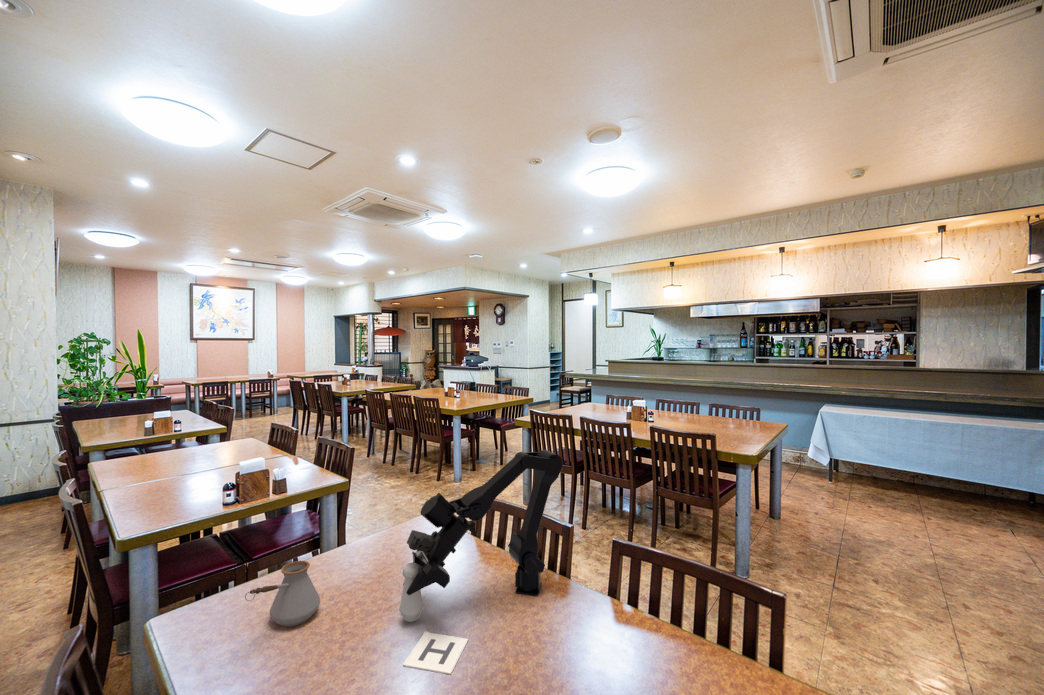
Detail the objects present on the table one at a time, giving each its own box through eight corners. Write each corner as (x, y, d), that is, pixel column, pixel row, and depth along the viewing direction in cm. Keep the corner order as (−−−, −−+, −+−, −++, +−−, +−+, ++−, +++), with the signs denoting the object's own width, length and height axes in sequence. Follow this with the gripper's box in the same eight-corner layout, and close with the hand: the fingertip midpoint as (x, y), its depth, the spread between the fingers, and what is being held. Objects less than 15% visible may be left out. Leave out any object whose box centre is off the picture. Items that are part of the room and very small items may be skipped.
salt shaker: (417, 625, 106) (416, 572, 105) (395, 622, 107) (395, 570, 107) (427, 611, 111) (426, 560, 111) (406, 608, 112) (406, 558, 112)
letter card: (468, 640, 102) (468, 638, 102) (450, 674, 91) (450, 673, 91) (425, 633, 104) (425, 631, 104) (402, 666, 94) (402, 664, 94)
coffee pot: (290, 601, 117) (290, 546, 117) (329, 605, 115) (329, 549, 115) (224, 657, 96) (225, 590, 96) (271, 663, 94) (271, 594, 94)
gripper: (418, 507, 119) (376, 556, 114) (436, 533, 102) (388, 592, 97) (446, 530, 123) (407, 578, 118) (468, 559, 106) (423, 617, 101)
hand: (405, 590), depth 108 cm, fingers closed on salt shaker, 3 cm apart
